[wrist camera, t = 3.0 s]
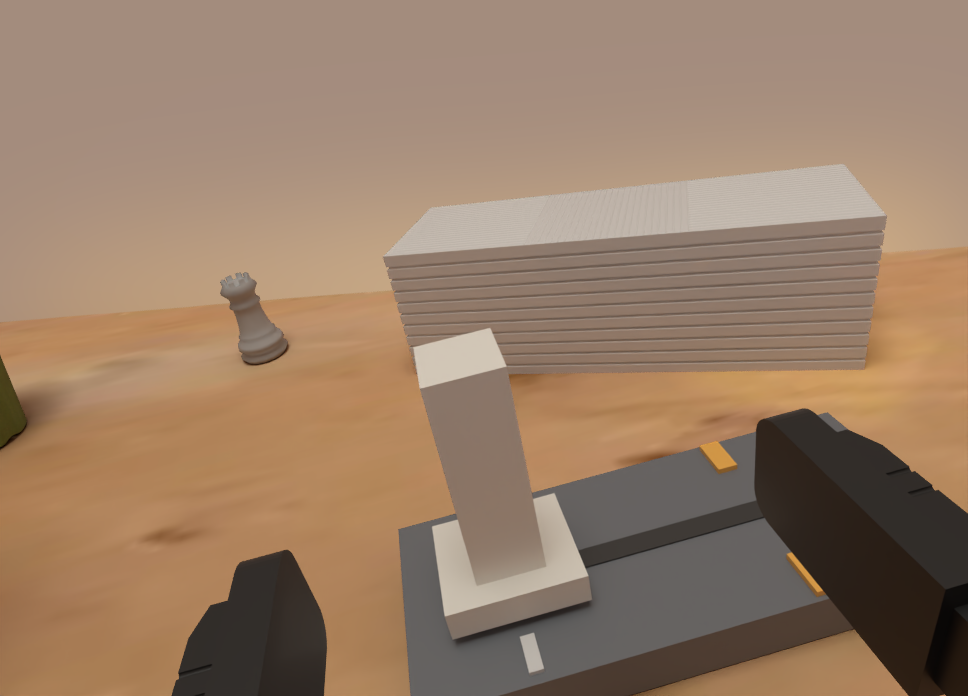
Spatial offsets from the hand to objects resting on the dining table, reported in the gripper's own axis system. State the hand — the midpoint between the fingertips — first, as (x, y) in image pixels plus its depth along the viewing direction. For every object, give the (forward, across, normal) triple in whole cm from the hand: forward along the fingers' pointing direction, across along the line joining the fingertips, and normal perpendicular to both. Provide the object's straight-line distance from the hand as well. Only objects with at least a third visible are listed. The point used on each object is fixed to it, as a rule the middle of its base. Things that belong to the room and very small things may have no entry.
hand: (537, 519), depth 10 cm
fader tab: (+12, -1, -14) cm, 18 cm away
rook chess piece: (+47, -18, -17) cm, 53 cm away
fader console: (+12, +6, -18) cm, 22 cm away
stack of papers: (+34, +13, -18) cm, 40 cm away
